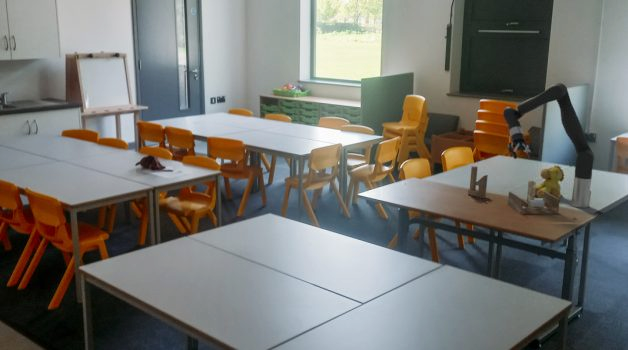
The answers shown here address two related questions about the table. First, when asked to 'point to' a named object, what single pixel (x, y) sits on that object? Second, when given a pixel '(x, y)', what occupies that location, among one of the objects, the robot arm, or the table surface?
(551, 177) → the yellow stuffed toy
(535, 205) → the grey offcut
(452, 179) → the table surface
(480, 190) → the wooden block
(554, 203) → the brown wooden tray
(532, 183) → the tan wooden bar
